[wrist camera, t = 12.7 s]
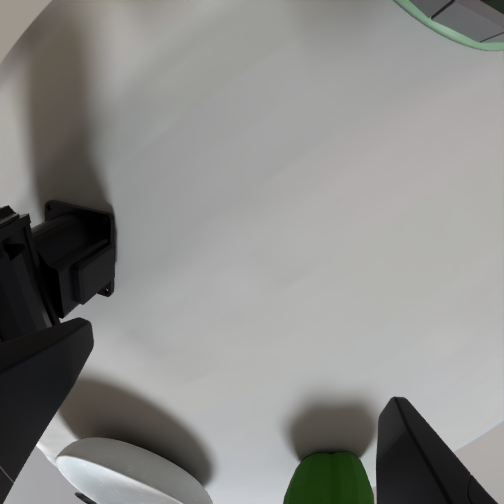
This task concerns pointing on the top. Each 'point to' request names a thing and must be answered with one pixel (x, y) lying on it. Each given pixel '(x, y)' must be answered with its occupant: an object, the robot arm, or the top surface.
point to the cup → (462, 20)
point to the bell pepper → (330, 481)
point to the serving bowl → (127, 474)
